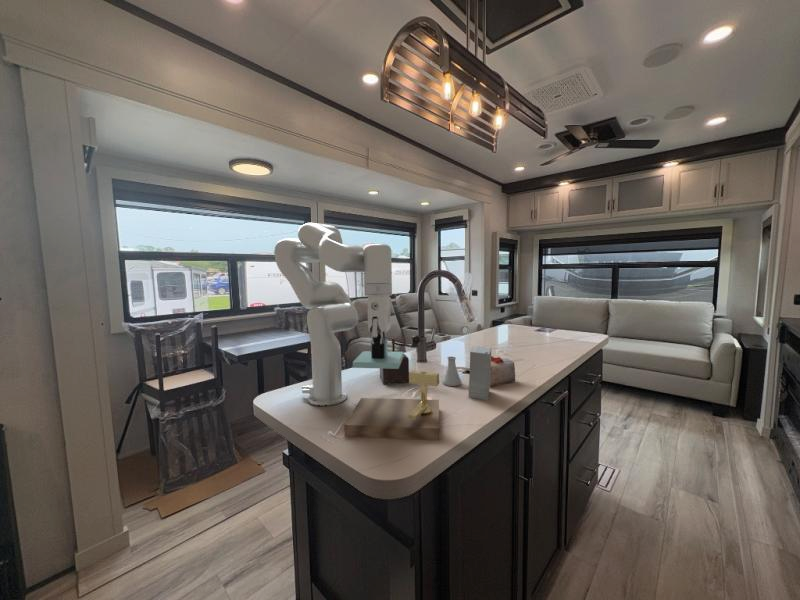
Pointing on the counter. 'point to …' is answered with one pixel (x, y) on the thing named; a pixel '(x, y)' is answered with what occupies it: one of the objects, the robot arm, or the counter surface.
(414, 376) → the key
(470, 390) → the skincare box
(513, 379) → the food item
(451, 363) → the flask
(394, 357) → the cover
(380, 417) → the base
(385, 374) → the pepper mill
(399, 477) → the counter surface
